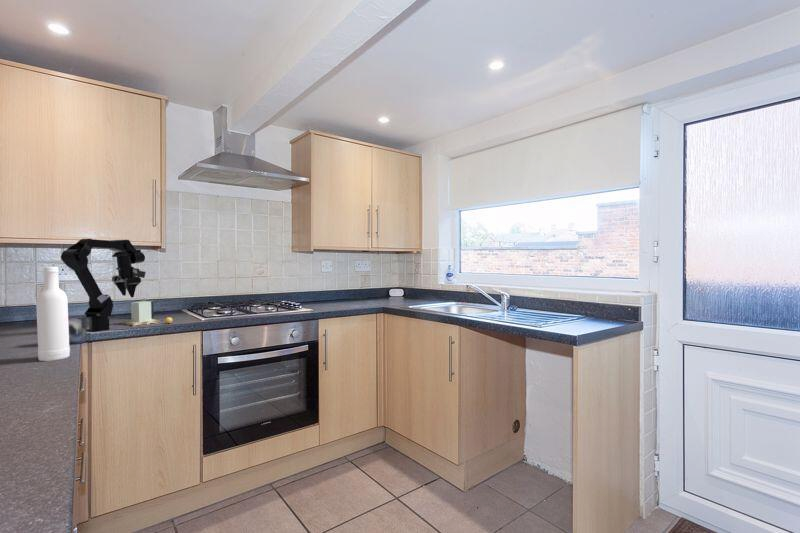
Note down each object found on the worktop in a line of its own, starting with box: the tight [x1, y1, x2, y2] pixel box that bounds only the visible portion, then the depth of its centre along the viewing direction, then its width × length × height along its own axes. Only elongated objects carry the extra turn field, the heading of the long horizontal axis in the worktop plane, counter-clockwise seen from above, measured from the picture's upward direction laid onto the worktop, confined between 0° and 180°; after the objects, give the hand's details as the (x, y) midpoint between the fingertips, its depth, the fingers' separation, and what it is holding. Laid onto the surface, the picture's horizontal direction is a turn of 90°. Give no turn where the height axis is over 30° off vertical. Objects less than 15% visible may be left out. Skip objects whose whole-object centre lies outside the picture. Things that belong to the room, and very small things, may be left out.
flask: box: [141, 297, 155, 319], centre depth 221 cm, size 9×3×11 cm, turn 109°
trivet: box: [122, 318, 161, 327], centre depth 202 cm, size 12×12×1 cm
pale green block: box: [130, 300, 153, 322], centre depth 202 cm, size 6×6×10 cm
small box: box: [68, 314, 88, 346], centre depth 156 cm, size 11×6×10 cm, turn 113°
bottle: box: [35, 266, 71, 362], centre depth 133 cm, size 8×8×30 cm
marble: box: [164, 316, 174, 324], centre depth 200 cm, size 3×3×3 cm
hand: (128, 296), depth 201 cm, fingers open, 9 cm apart
